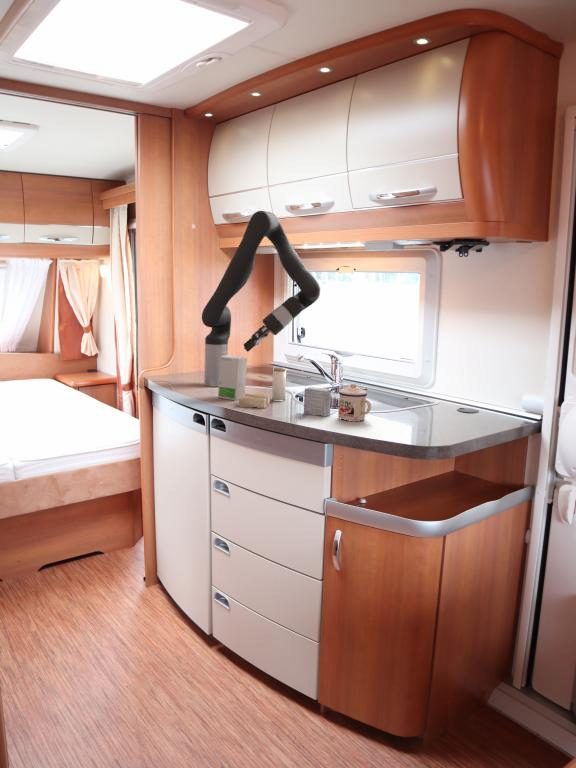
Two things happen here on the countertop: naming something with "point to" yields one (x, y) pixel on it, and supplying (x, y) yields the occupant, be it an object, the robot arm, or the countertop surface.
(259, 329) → the robot arm
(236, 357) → the skincare box
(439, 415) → the countertop surface
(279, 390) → the spice jar
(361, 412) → the teacup with lid
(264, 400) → the plinth
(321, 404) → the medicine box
